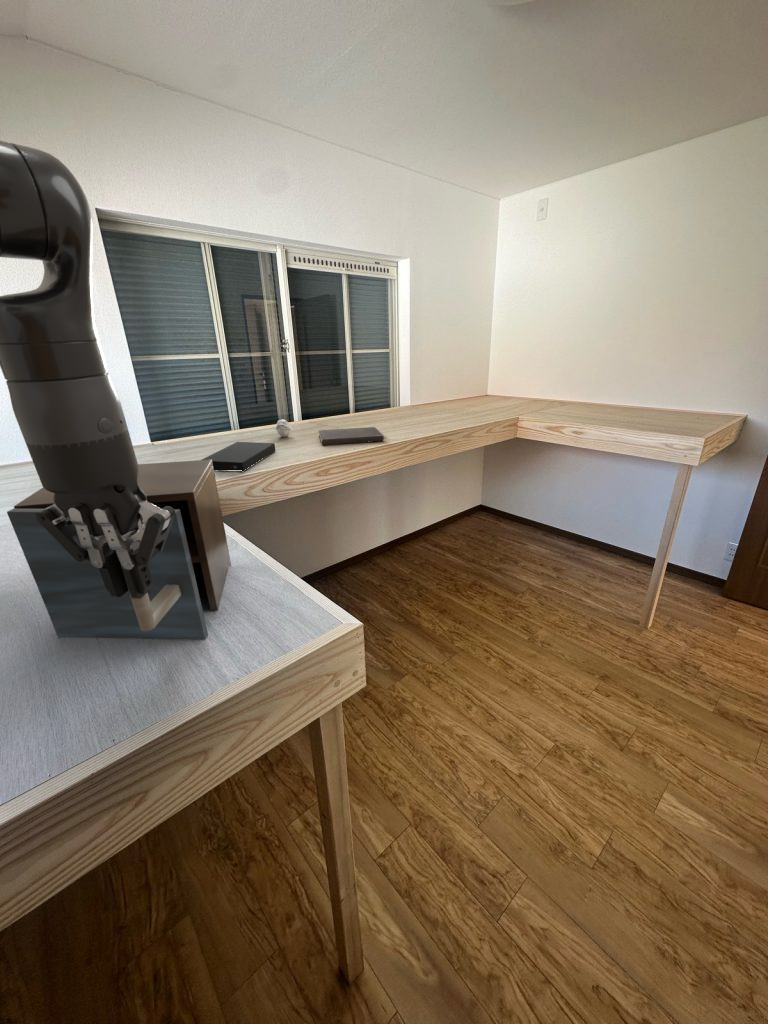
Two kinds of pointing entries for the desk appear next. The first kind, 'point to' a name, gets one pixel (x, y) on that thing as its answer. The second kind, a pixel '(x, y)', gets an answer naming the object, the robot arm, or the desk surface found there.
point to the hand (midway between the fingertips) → (131, 592)
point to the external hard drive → (240, 455)
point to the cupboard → (199, 508)
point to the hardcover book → (349, 435)
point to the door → (88, 604)
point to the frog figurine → (283, 428)
